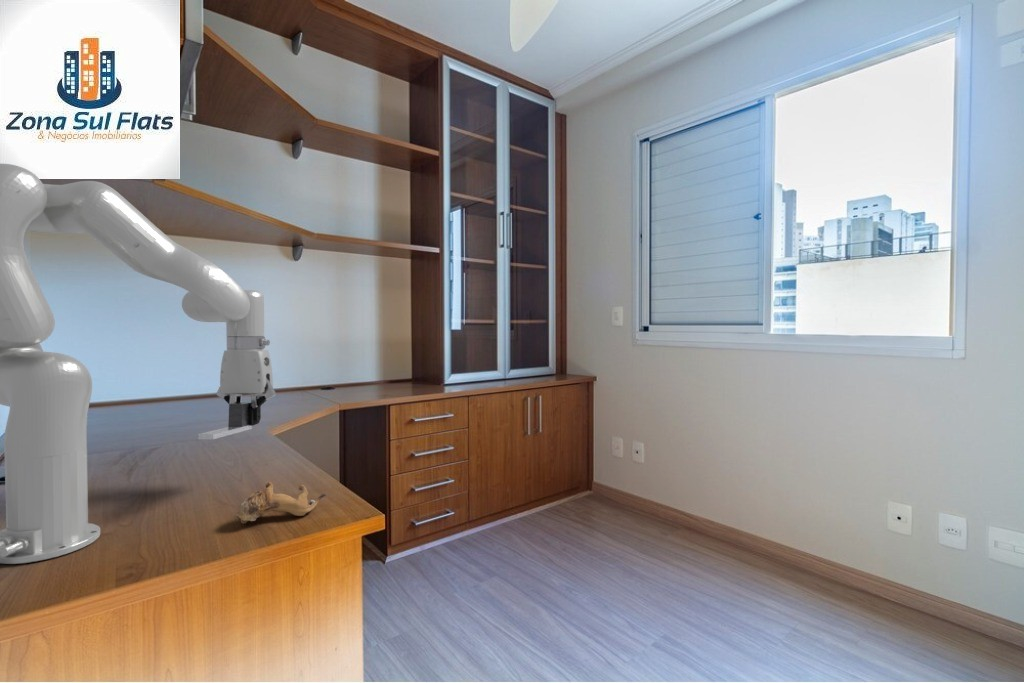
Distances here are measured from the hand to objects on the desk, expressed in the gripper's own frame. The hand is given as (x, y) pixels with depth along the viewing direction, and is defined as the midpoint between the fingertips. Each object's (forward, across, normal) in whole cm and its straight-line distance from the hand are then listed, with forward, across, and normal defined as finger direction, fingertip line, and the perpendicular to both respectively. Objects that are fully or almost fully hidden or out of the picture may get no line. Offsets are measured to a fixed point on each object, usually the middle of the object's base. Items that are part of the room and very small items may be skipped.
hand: (246, 423), depth 109 cm
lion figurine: (+11, -16, +14) cm, 24 cm away
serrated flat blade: (+1, 0, +7) cm, 8 cm away
